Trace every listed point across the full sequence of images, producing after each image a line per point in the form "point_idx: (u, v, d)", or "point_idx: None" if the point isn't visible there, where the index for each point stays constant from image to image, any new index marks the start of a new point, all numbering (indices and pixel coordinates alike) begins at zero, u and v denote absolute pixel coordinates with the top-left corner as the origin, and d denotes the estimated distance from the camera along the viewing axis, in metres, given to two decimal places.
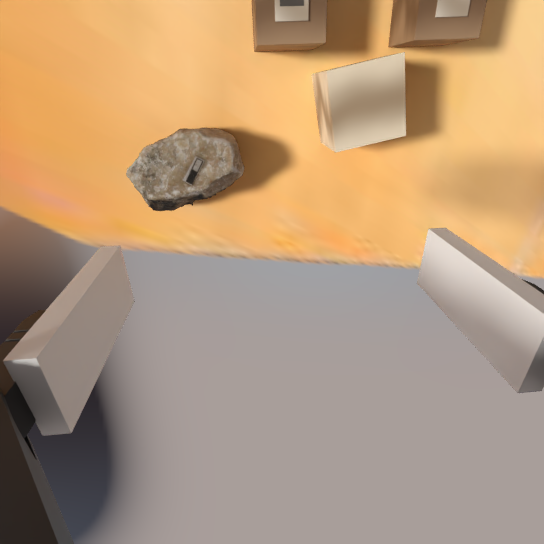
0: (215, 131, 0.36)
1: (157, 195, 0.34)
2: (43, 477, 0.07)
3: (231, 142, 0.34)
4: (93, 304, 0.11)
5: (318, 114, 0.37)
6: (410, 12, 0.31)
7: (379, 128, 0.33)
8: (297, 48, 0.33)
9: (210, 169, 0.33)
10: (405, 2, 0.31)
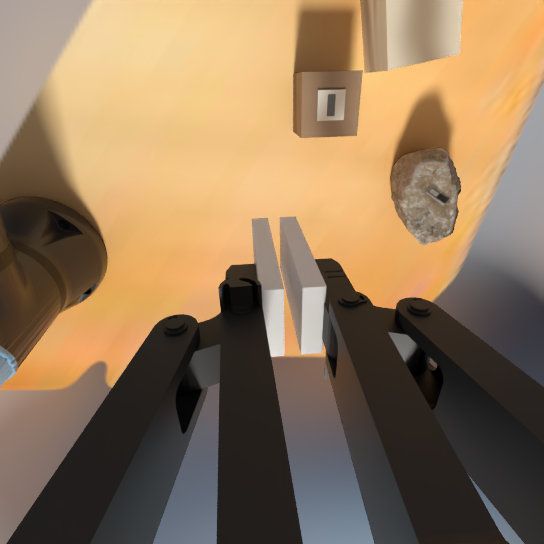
0: (400, 170, 0.42)
1: (449, 226, 0.41)
2: None
3: (420, 160, 0.39)
4: None
5: None
6: None
7: (449, 0, 0.30)
8: None
9: (441, 182, 0.39)
10: None
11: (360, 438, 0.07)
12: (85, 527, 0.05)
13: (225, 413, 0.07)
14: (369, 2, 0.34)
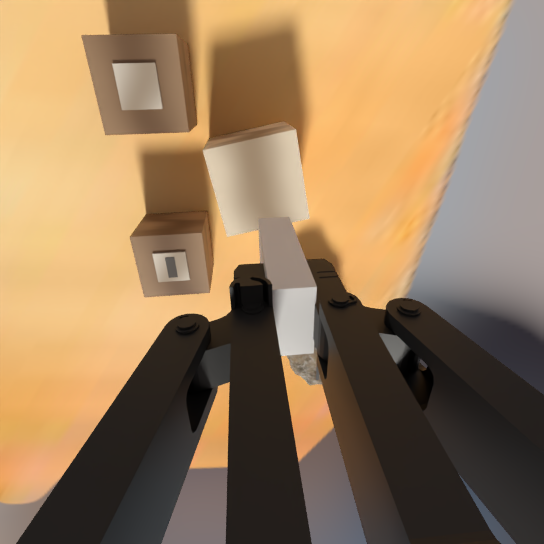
0: None
1: None
2: None
3: None
4: None
5: None
6: None
7: (285, 168, 0.26)
8: (207, 234, 0.34)
9: None
10: None
11: (352, 439, 0.07)
12: (97, 524, 0.05)
13: (235, 411, 0.07)
14: None
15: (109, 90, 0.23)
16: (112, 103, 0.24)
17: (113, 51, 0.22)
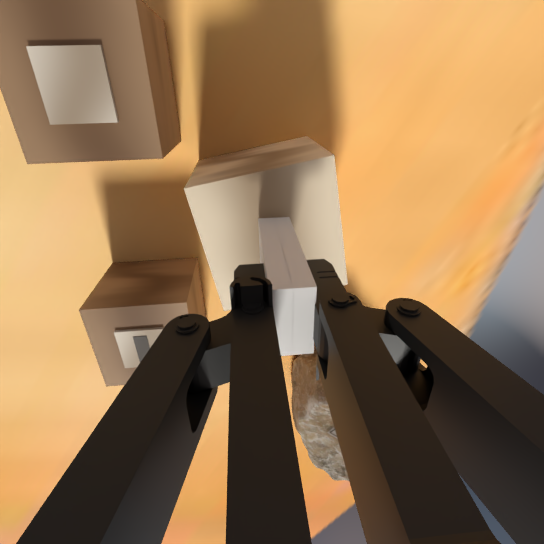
0: (297, 380, 0.28)
1: None
2: None
3: (314, 392, 0.25)
4: None
5: None
6: None
7: (315, 214, 0.17)
8: (198, 291, 0.24)
9: None
10: None
11: (352, 439, 0.07)
12: (97, 524, 0.05)
13: (235, 412, 0.07)
14: None
15: (27, 92, 0.14)
16: (34, 113, 0.14)
17: (27, 25, 0.13)
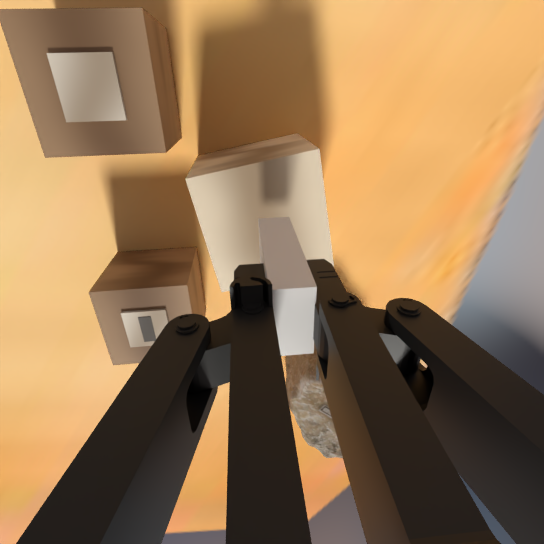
0: (290, 363, 0.30)
1: None
2: None
3: (305, 372, 0.27)
4: None
5: None
6: None
7: (303, 202, 0.19)
8: (197, 278, 0.26)
9: None
10: None
11: (352, 439, 0.07)
12: (97, 524, 0.05)
13: (235, 411, 0.07)
14: None
15: (46, 94, 0.16)
16: (52, 112, 0.16)
17: (48, 34, 0.15)
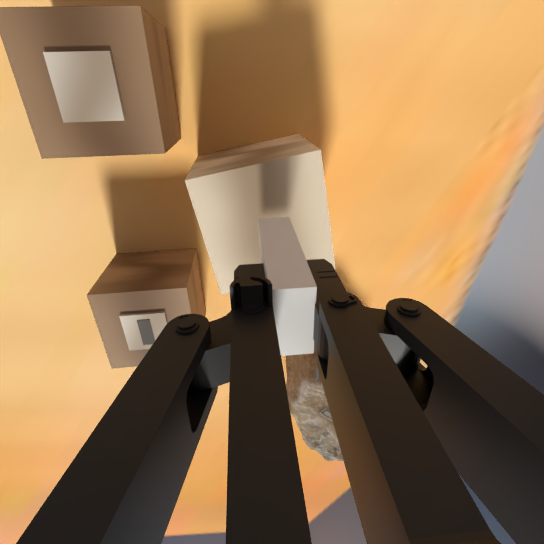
0: (291, 366, 0.30)
1: None
2: None
3: (306, 375, 0.27)
4: None
5: None
6: None
7: (304, 204, 0.18)
8: (197, 280, 0.26)
9: None
10: None
11: (352, 439, 0.07)
12: (97, 524, 0.05)
13: (235, 411, 0.07)
14: None
15: (43, 93, 0.16)
16: (48, 112, 0.16)
17: (44, 33, 0.15)
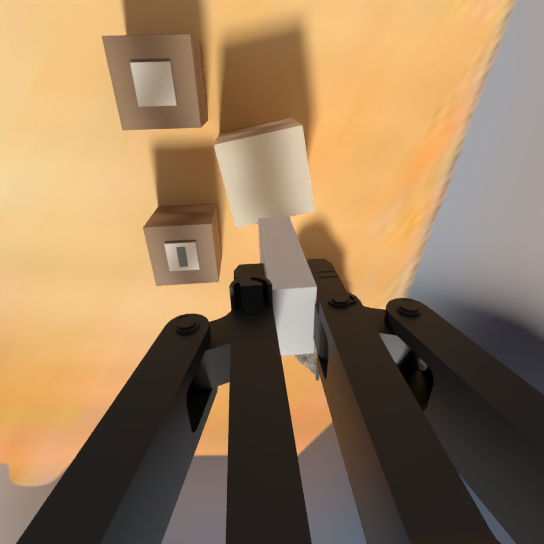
0: None
1: None
2: None
3: None
4: None
5: None
6: None
7: (292, 162, 0.27)
8: (216, 226, 0.35)
9: None
10: None
11: (352, 439, 0.07)
12: (97, 524, 0.05)
13: (235, 411, 0.07)
14: None
15: (127, 88, 0.25)
16: (129, 100, 0.25)
17: (131, 51, 0.24)
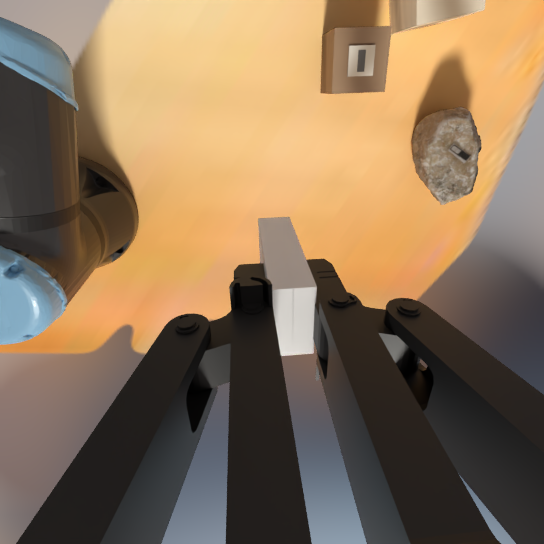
0: (423, 130, 0.44)
1: (469, 184, 0.43)
2: None
3: (443, 118, 0.41)
4: None
5: (425, 26, 0.40)
6: None
7: None
8: None
9: (463, 139, 0.41)
10: None
11: (352, 439, 0.07)
12: (97, 524, 0.05)
13: (235, 411, 0.07)
14: None
15: None
16: None
17: None
